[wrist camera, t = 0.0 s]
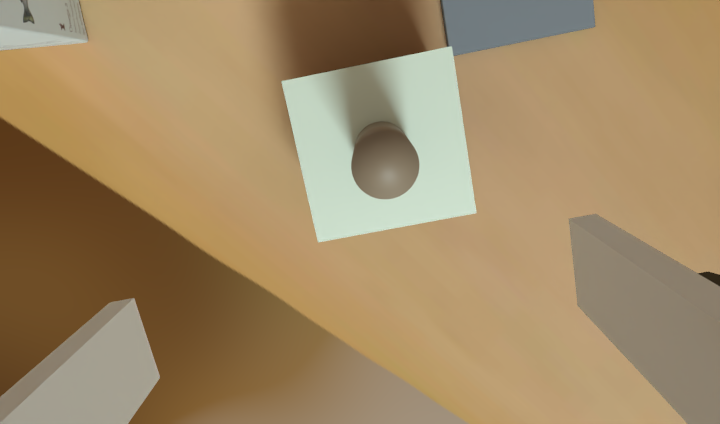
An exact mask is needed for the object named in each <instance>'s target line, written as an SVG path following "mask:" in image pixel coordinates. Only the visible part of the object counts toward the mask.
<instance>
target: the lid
mask: <svg viewBox="0 0 720 424" xmlns="http://www.w3.org/2000/svg"><path fill="white" fill-rule="evenodd" d="M281 82H282V86H283V91H284V95H285V99H286V104H287V108H288V113H289V117H290V121H291V126H292V130H293V134H294V139H295V143H296V148H297V152H298V156H299V161H300V165H301V170H302V174H303V178H304V183H305V187H306V192H307V196H308V200H309V205H310V209H311V213H312V218H313V222H314V227H315V231H316V235H317V240H318V242H323V241H328V240H333V239H339V238H344V237H350V236H355V235H360V234H366V233H371V232H377V231H382V230H387V229H393V228H398V227H404V226H409V225H414V224H420V223H425V222H431V221H436V220H441V219H447V218H452V217H458V216H463V215H468V214H474V213H476V207H475V200H474V193H473V186H472V180H471V173H470V166H469V159H468V152H467V146H466V139H465V132H464V125H463V118H462V111H461V105H460V98H459V91H458V84H457V77H456V71H455V64H454V57H453V50H452V46H450V47H445V48H440V49H436V50H431V51H426V52H421V53H416V54H411V55H406V56H402V57H397V58H392V59H387V60H382V61H377V62H372V63H368V64H363V65H358V66H353V67H348V68H343V69H338V70H334V71H329V72H324V73H319V74H314V75H309V76H304V77H300V78H295V79H290V80H285V81H281Z"/></svg>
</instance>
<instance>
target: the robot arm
mask: <svg viewBox="0 0 720 424" xmlns="http://www.w3.org/2000/svg"><path fill="white" fill-rule="evenodd" d="M569 225H570V235H571V245H572V255H573V264H574V274H575V284H576V294H577V304H578V307H579V308H580V309H581V310H582V311H583V312H584V313H585V314H586V315H587V316H588V317H589V318H590V319H591V320H592V322H593V323H594V324H595V325H596V326H597V327H598V328H599V329H600V330H601V331H602V332H603V333H604V334H605V335H606V337H607V338H608V339H609V340H610V341H611V342H612V343H613V344H614V345H615V346H616V347H617V348H618V349H619V350H620V352H621V353H622V354H623V355H624V356H625V357H626V358H627V359H628V360H629V361H630V362H631V363H632V364H633V365H634V367H635V368H636V369H637V370H638V371H639V372H640V373H641V374H642V375H643V376H644V377H645V378H646V379H647V380H648V382H649V383H650V384H651V385H652V386H653V387H654V388H655V389H656V390H657V391H658V392H659V393H660V394H661V395H662V397H663V398H664V399H665V400H666V401H667V402H668V403H669V404H670V405H671V406H672V407H673V408H674V409H675V410H676V412H677V413H678V414H679V415H680V416H681V417H682V418H683V419H684V420H685V421H686V422H687V423H688V424H720V275H718V274H715V273H711V272H704V273H696V272H694V271H693V270H691V269H689V268H687V267H686V266H684V265H682V264H681V263H679V262H677V261H675V260H674V259H672V258H670V257H669V256H667V255H665V254H663V253H662V252H660V251H658V250H657V249H655V248H653V247H652V246H650V245H648V244H646V243H645V242H643V241H641V240H640V239H638V238H636V237H634V236H633V235H631V234H629V233H628V232H626V231H624V230H622V229H621V228H619V227H617V226H616V225H614V224H612V223H610V222H609V221H607V220H605V219H604V218H602V217H600V216H599V215H597V214H592V215H587V216H581V217H576V218H570V219H569ZM159 378H160V376H159V373H158V370H157V367H156V364H155V361H154V358H153V354H152V351H151V348H150V345H149V342H148V339H147V336H146V333H145V330H144V327H143V324H142V321H141V318H140V315H139V312H138V309H137V306H136V303H135V300H134V298H132V299H126V300H121V301H116V302H110V303H109V304H108V305H106V307H104V308H103V309H102V310H101V311H100V312H98V313H97V314H96V315H95V316H94V317H93V318H91V319H90V320H89V321H88V322H87V323H86V324H85V325H83V326H82V327H81V328H80V329H79V330H78V331H76V332H75V333H74V334H73V335H72V336H71V337H69V338H68V339H67V340H66V341H65V342H64V343H62V344H61V345H60V346H59V347H58V348H57V349H55V350H54V351H53V352H52V353H51V354H50V355H49V356H47V357H46V358H45V359H44V360H43V361H42V362H40V363H39V364H38V365H37V366H36V367H35V368H34V369H32V370H31V371H30V372H29V373H28V374H26V375H25V376H24V377H23V378H22V379H21V380H20V381H18V382H17V383H16V384H15V385H14V386H13V387H11V388H10V389H9V390H8V391H7V392H6V393H5V394H3V395H2V396H1V397H0V424H128V423H129V421H130V420H131V418H132V417H133V415H134V414H135V413H136V411H137V410H138V408H139V407H140V405H141V404H142V403H143V401H144V400H145V398H146V397H147V395H148V394H149V392H150V391H151V390H152V388H153V387H154V385H155V384H156V383H157V381H158V379H159Z"/></svg>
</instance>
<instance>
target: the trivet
mask: <svg viewBox="0 0 720 424" xmlns="http://www.w3.org/2000/svg"><path fill="white" fill-rule="evenodd" d="M441 7H442V14H443V20H444V27H445V34H446V41H447V47H450V46H452V50H453V56H456V55H460V54H465V53H470V52H475V51H480V50H485V49H490V48H495V47H500V46H504V45H509V44H514V43H519V42H524V41H529V40H534V39H539V38H544V37H548V36H553V35H558V34H563V33H568V32H573V31H578V30H583V29H588V28H592V27H595V18H594V5H593V0H441Z"/></svg>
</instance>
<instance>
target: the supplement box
mask: <svg viewBox="0 0 720 424" xmlns="http://www.w3.org/2000/svg"><path fill="white" fill-rule="evenodd" d="M85 42H88V37H87V33H86V29H85V25H84V21H83V17H82V13H81V8H80V4H79V0H0V50H9V49H21V48H33V47H44V46H55V45H66V44H76V43H85Z"/></svg>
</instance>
